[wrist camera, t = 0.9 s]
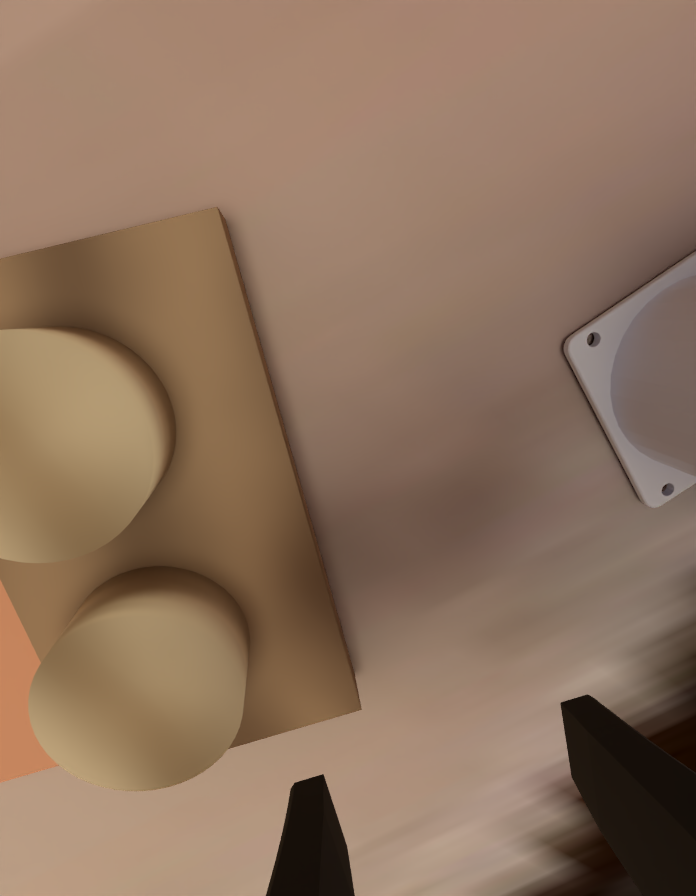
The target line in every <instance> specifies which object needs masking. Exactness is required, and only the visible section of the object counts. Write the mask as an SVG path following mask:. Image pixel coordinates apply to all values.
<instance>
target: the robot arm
mask: <svg viewBox="0 0 696 896" xmlns="http://www.w3.org/2000/svg"><path fill="white" fill-rule="evenodd" d="M590 333H592V334H593V335H594V341H593V343H592V344H591V345H590V346H589V345H588V344H587V337H588V335H589V334H590ZM564 353H565V356H566V358H567V360H568V362H569V364H570V366H571V367H572V369H573V371H574V373H575V375H576V377H577V379H578V381H579V383H580V385H581V387H582V389H583V391H584V393H585V394H586V396H587V398H588V400H589V402H590V404H591V406H592V408H593V410H594V412H595V414H596V416H597V418H598V420H599V421H600V423H601V425H602V427H603V429H604V431H605V433H606V435H607V437H608V439H609V441H610V443H611V445H612V447H613V448H614V450H615V452H616V454H617V456H618V458H619V460H620V462H621V464H622V466H623V468H624V470H625V472H626V474H627V476H628V477H629V479H630V481H631V483H632V485H633V487H634V489H635V491H636V493H637V495H638V497H639V499H640V501H641V502H642V503H643V504H645V505H647V506H649V507H651V508H657V507H660V506H662V505H663V504H665V503H666V502H668V501H669V500H671V499H672V498H674V497H675V496H677V495H679V494H680V493H682V492H683V491H685V490H686V489H688V488H689V487H691V486H692V485H694V484H695V483H696V251H695V252H693V253H692V254H690V255H689V256H687V257H686V258H684V259H683V260H681V261H680V262H679V263H677V264H676V265H674V266H673V267H671V268H670V269H668V270H667V271H665V272H664V273H662V274H661V275H659V276H658V277H656V278H655V279H653V280H652V281H650V282H649V283H647V284H646V285H644V286H643V287H641V288H640V289H639V290H637V291H636V292H634V293H633V294H631V295H630V296H628V297H627V298H625V299H624V300H622V301H621V302H619V303H618V304H616V305H615V306H613V307H612V308H610V309H609V310H607V311H606V312H604V313H603V314H601V315H600V316H599V317H597V318H596V319H594V320H593V321H591V322H590V323H588V324H587V325H585V326H584V327H582V328H581V329H579V330H578V331H576V332H575V333H573V334H572V335H570V336H569V337H568V338H567V339H566V341H565V344H564ZM665 484H667V487H666V489H665V490H664V491H663V492H662V488H663V486H664V485H665ZM561 710H562V716H563V723H564V729H565V736H566V743H567V749H568V756H569V762H570V769H571V775H572V778H573V780H574V782H575V784H576V786H577V788H578V790H579V792H580V794H581V796H582V797H583V799H584V801H585V803H586V805H587V807H588V809H589V811H590V813H591V814H592V816H593V818H594V820H595V822H596V824H597V825H598V827H599V829H600V831H601V833H602V834H603V836H604V837H605V839H606V840H607V842H608V843H609V845H610V847H611V848H612V850H613V851H614V853H615V854H616V856H617V857H618V859H619V860H620V862H621V863H622V865H623V866H624V868H625V870H626V871H627V873H628V874H629V876H630V877H631V879H632V880H633V882H634V883H635V885H636V886H637V888H638V889H639V891H640V892H641V894H642V895H643V896H696V773H695V772H694V771H692V770H691V769H689V768H688V767H686V766H685V765H684V764H682V763H681V762H679V761H678V760H676V759H675V758H673V757H672V756H671V755H669V754H668V753H666V752H665V751H664V750H662V749H661V748H659V747H658V746H657V745H655V744H654V743H652V742H651V741H650V740H648V739H647V738H646V737H644V736H643V735H642V734H640V733H639V732H638V731H636V730H635V729H634V728H632V727H631V726H630V725H628V724H627V723H626V722H624V721H623V720H622V719H620V718H619V717H618V716H616V715H615V714H614V713H612V712H611V711H610V710H609V709H607V708H606V707H605V706H603V705H602V704H601V703H599V702H598V701H597V700H596V699H594V698H593V697H591V696H589V695H584V696H581V697H578V698H574V699H571V700H568V701H565V702H561ZM266 896H355V895H354V888H353V882H352V875H351V869H350V862H349V856H348V850H347V845H346V842H345V839H344V836H343V833H342V830H341V827H340V823H339V820H338V817H337V814H336V811H335V808H334V805H333V802H332V799H331V796H330V793H329V790H328V787H327V784H326V781H325V778H324V775H323V774H322V775H319V776H316V777H312V778H309V779H306V780H303V781H299V782H296V783H294V785H293V786H292V788H291V791H290V797H289V803H288V808H287V813H286V818H285V823H284V827H283V832H282V836H281V841H280V845H279V849H278V853H277V857H276V861H275V865H274V868H273V872H272V876H271V879H270V883H269V887H268V890H267V894H266Z"/></svg>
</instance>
